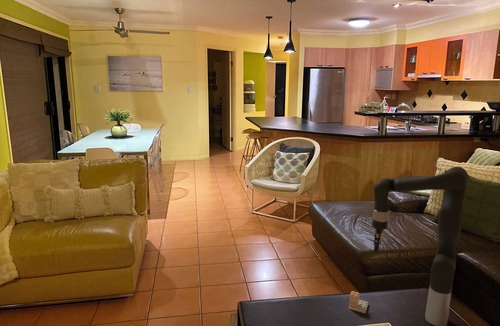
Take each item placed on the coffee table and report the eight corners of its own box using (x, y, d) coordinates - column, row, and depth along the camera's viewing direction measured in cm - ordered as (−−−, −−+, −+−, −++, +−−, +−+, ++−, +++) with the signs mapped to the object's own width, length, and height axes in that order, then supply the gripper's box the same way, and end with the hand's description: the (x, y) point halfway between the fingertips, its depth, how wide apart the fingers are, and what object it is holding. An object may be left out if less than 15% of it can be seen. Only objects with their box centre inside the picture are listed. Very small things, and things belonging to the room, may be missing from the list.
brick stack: (358, 303, 182) (359, 292, 180) (357, 308, 178) (358, 296, 177) (350, 301, 183) (351, 290, 182) (349, 305, 180) (350, 294, 178)
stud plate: (367, 304, 184) (368, 301, 183) (365, 313, 177) (365, 310, 177) (352, 299, 187) (352, 297, 187) (348, 308, 180) (349, 305, 180)
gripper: (386, 224, 172) (383, 255, 176) (389, 214, 185) (386, 243, 189) (370, 221, 175) (367, 252, 179) (374, 212, 188) (371, 240, 192)
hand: (377, 247), depth 184 cm, fingers open, 8 cm apart
